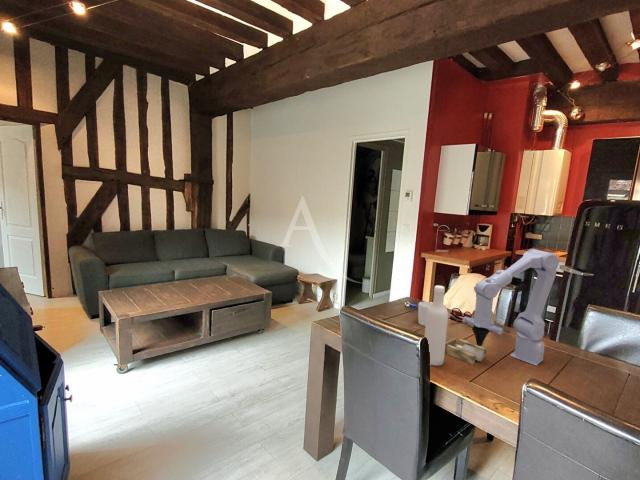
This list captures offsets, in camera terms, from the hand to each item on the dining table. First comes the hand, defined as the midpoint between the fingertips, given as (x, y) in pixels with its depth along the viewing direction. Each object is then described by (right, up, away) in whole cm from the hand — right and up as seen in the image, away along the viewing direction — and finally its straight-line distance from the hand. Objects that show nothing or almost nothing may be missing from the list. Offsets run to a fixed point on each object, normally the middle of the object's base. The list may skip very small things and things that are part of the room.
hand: (479, 345), depth 129 cm
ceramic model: (+18, -2, +34) cm, 39 cm away
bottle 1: (-18, -6, 0) cm, 19 cm away
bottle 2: (+1, -4, 0) cm, 4 cm away
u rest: (-4, -5, +6) cm, 9 cm away
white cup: (-10, -1, +36) cm, 37 cm away
